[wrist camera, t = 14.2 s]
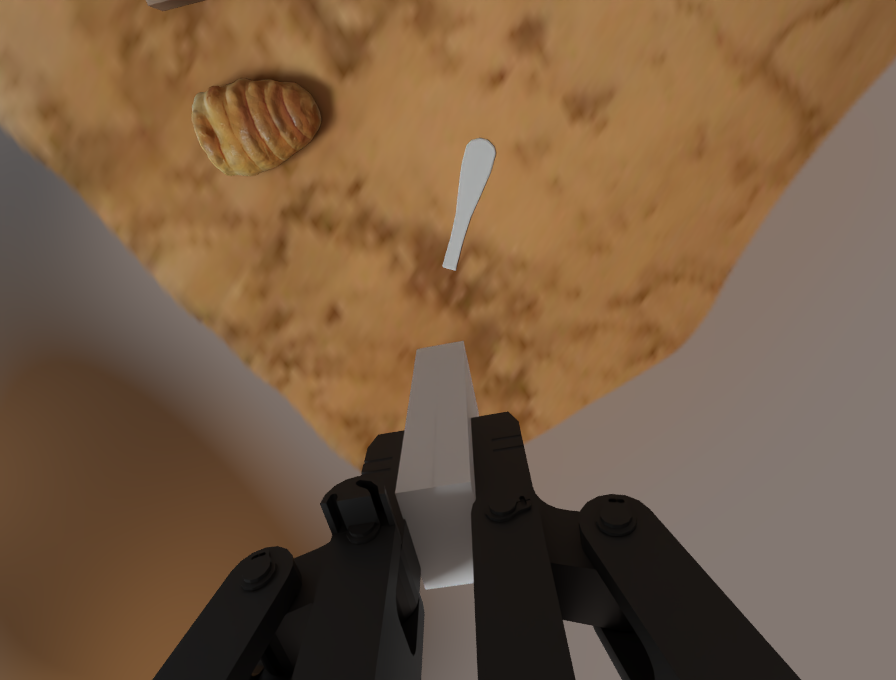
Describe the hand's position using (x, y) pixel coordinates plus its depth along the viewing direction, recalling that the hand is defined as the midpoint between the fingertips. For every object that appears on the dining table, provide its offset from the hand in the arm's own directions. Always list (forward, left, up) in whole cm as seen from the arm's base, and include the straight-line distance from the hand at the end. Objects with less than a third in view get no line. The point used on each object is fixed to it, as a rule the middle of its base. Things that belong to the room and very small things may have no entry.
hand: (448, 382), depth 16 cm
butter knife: (+1, +5, -30) cm, 30 cm away
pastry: (+14, -10, -30) cm, 35 cm away
